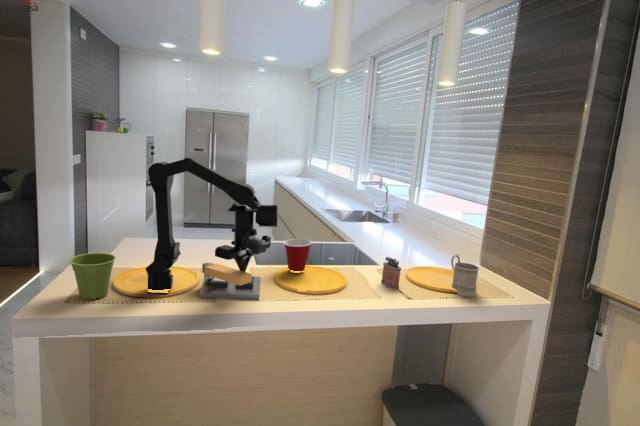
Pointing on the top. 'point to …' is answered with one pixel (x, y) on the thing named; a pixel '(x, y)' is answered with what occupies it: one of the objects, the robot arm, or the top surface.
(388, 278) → the lighter
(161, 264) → the robot arm
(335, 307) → the top surface
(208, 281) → the power supply chassis
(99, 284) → the plant pot
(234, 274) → the wooden plank
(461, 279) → the mug
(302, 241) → the plastic cup
